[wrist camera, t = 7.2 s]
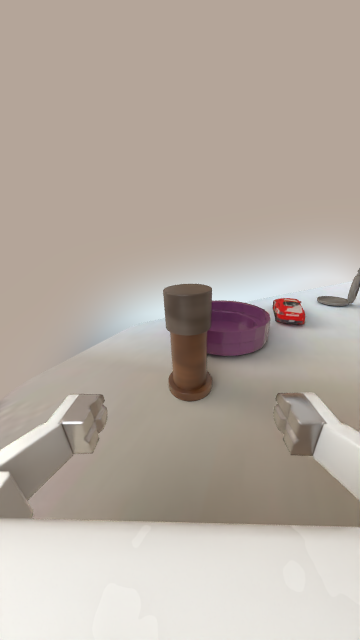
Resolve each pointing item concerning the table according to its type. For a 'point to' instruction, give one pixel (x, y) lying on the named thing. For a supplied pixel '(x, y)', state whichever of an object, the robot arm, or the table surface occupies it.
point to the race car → (288, 311)
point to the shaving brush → (188, 339)
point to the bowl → (236, 328)
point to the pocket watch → (337, 301)
